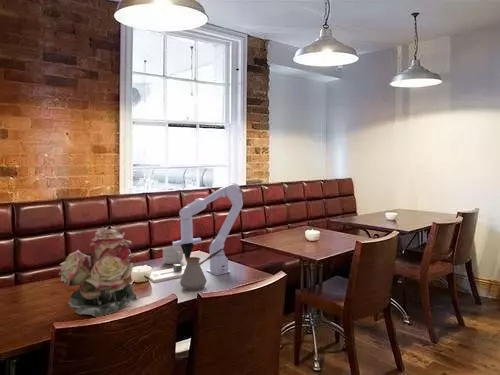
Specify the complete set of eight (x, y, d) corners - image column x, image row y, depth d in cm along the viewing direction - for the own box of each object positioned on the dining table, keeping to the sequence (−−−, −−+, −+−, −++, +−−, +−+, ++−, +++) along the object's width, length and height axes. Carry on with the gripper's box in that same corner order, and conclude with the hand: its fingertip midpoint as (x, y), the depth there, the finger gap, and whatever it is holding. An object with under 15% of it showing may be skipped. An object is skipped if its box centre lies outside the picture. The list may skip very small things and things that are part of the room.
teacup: (160, 261, 220) (160, 247, 219) (180, 259, 224) (180, 244, 224) (167, 268, 207) (166, 252, 206) (187, 265, 212) (187, 250, 211)
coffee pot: (188, 294, 169) (187, 259, 168) (175, 287, 179) (174, 253, 177) (230, 284, 182) (230, 250, 181) (217, 277, 191) (216, 246, 190)
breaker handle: (181, 270, 198) (181, 265, 198) (176, 271, 196) (175, 266, 196) (179, 269, 200) (179, 263, 200) (173, 270, 199) (173, 264, 198)
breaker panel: (197, 273, 198) (197, 271, 198) (153, 282, 185) (153, 279, 185) (186, 267, 208) (186, 265, 207) (144, 276, 195) (144, 273, 195)
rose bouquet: (53, 306, 159) (48, 229, 156) (123, 287, 179) (120, 219, 176) (81, 326, 140) (76, 240, 138) (155, 302, 161) (152, 227, 158)
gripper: (196, 228, 207) (196, 254, 208) (169, 231, 199) (170, 259, 200) (203, 230, 201) (203, 257, 203) (175, 234, 193) (176, 262, 194)
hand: (187, 258), depth 201 cm, fingers closed
